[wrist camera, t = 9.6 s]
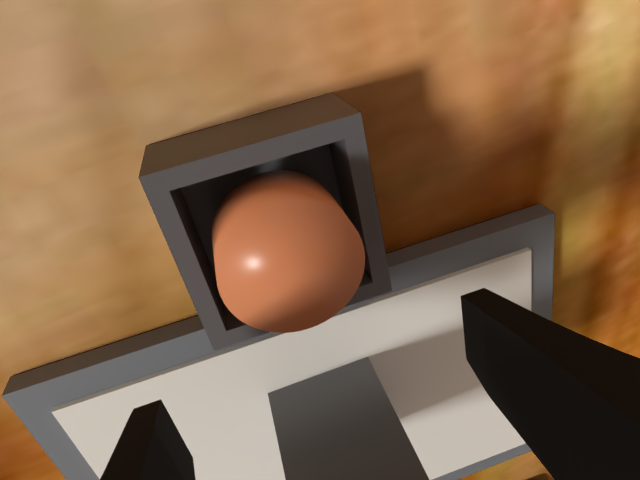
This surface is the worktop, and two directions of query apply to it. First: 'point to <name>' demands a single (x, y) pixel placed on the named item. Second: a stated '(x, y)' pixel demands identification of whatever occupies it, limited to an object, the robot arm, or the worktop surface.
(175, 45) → the worktop surface
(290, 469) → the block
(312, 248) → the button
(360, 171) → the button housing
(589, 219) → the worktop surface
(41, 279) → the worktop surface
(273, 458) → the sketch board
